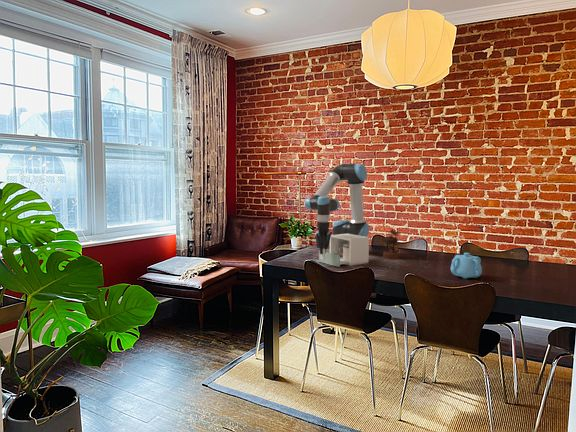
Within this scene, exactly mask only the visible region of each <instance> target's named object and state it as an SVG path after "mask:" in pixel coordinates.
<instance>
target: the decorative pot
mask: <svg viewBox="0 0 576 432" xmlns="http://www.w3.org/2000/svg"><path fill="white" fill-rule="evenodd" d="M481 259H482V258H481V257H479V256H474V255H472V254H470V252H463V254H455V256H454V257H453V259H452V260H451V264H450V271H451V272H450V273H452V274H453V275H454V276H455V277H461V278H462V279H464V280H466V279H469V278H470V279H471V278H472V279H477V278H478V277H480V276H481V275H482V273H483V269H482V265H481V262H482V260H481Z"/></svg>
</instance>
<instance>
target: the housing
mask: <svg viewBox="0 0 576 432" xmlns="http://www.w3.org/2000/svg"><path fill="white" fill-rule="evenodd" d="M349 241H350V242H349ZM348 242H349V263H347V264H344V265H346V266H351V267H353V266H358V265H364V264H368V263H369V258H370V257H369V255H370V254H369V253H370V236H367V237H365V236H359V235H353V234H338V235H333V234H331V237H330V242H329V253H333V254H337V255H342V254H341V253H340V251H339V249H340V248H341V247H343V245H344V244H346V243H348ZM341 252H342V253H343V248H341Z"/></svg>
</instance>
